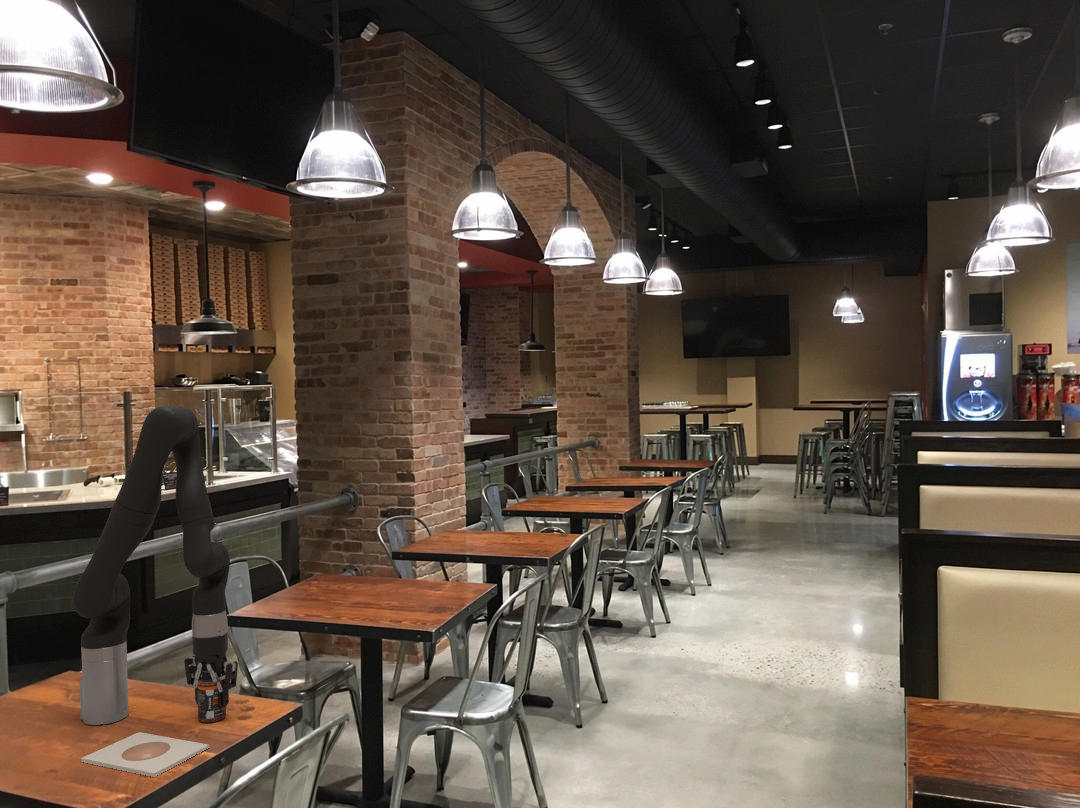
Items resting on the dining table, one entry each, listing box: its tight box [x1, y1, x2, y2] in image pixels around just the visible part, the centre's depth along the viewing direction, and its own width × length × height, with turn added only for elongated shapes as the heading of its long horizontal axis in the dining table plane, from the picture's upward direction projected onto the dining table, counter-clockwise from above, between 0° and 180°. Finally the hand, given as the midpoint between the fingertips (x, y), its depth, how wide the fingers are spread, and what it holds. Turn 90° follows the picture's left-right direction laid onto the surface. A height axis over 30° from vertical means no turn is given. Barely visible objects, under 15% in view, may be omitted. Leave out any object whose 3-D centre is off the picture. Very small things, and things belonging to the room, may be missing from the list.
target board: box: [80, 731, 211, 778], centre depth 171 cm, size 20×14×1 cm
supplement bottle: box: [197, 670, 227, 724], centre depth 190 cm, size 6×6×11 cm
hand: (212, 704), depth 190 cm, fingers closed on supplement bottle, 6 cm apart
